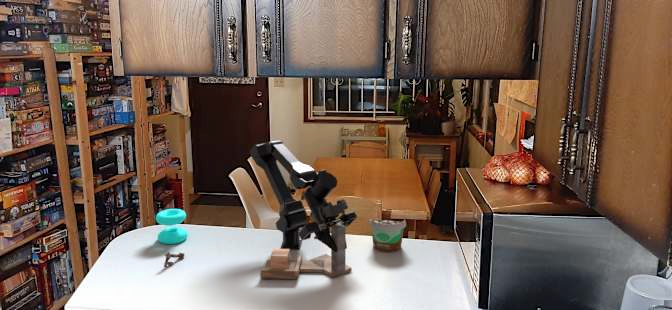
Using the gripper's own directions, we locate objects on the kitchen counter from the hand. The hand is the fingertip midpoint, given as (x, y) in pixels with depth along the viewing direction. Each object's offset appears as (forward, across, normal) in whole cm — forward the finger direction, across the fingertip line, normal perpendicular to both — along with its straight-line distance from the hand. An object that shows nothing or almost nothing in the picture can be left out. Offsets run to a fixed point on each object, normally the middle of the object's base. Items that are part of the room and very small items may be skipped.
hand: (341, 250), depth 149 cm
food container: (+3, +22, +8) cm, 24 cm away
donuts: (-34, -29, +46) cm, 64 cm away
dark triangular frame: (-22, -36, +33) cm, 54 cm away
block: (-5, -13, +14) cm, 20 cm away
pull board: (-2, -9, +12) cm, 15 cm away
